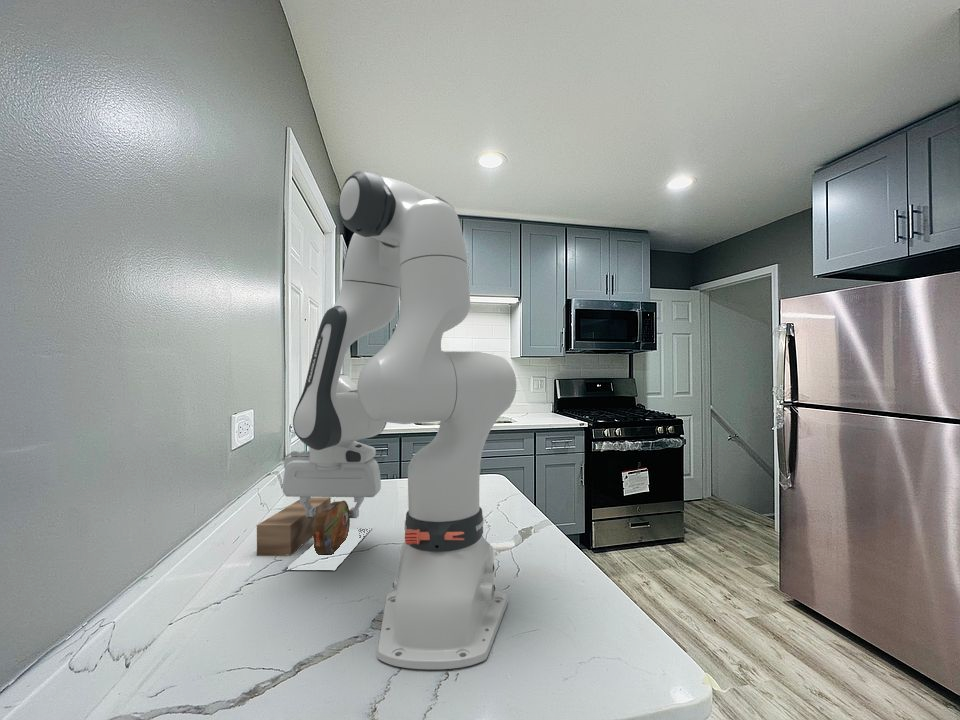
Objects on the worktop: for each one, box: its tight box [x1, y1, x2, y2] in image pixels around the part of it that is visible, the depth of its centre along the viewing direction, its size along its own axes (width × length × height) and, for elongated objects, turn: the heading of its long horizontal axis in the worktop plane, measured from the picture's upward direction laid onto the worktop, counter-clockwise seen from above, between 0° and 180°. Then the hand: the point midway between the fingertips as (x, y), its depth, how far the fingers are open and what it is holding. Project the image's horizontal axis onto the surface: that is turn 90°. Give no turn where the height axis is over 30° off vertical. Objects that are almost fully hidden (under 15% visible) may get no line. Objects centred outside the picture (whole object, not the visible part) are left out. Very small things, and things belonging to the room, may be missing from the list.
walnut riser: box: [256, 497, 332, 556], centre depth 98 cm, size 20×7×6 cm, turn 176°
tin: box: [313, 500, 351, 555], centre depth 91 cm, size 15×3×8 cm, turn 179°
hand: (332, 517), depth 92 cm, fingers open, 8 cm apart
